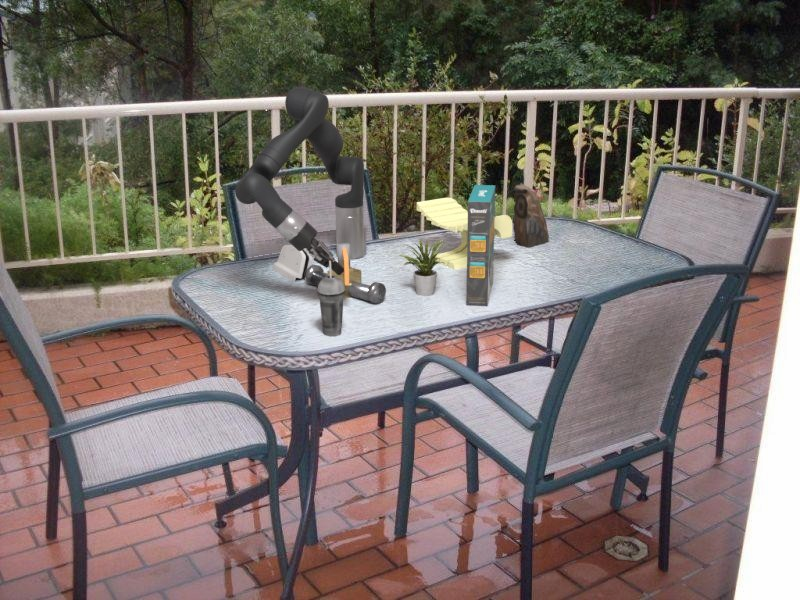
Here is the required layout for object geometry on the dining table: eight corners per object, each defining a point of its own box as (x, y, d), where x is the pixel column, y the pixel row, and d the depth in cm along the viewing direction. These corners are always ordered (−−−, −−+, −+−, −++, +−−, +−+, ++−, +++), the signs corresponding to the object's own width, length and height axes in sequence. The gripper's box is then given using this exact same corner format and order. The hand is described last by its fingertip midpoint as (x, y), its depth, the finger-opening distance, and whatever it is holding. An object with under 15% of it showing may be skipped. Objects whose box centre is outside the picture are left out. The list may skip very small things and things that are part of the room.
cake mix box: (473, 281, 282) (474, 184, 272) (492, 282, 281) (495, 185, 272) (466, 305, 262) (468, 201, 252) (487, 306, 261) (490, 202, 251)
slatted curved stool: (510, 267, 296) (512, 213, 290) (471, 276, 288) (472, 220, 282) (454, 246, 320) (455, 196, 314) (416, 254, 311) (416, 202, 305)
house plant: (422, 281, 283) (422, 229, 278) (459, 290, 275) (460, 236, 269) (392, 293, 273) (392, 239, 267) (430, 302, 264) (430, 247, 259)
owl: (528, 249, 316) (530, 191, 310) (499, 242, 325) (501, 186, 318) (550, 241, 325) (553, 185, 318) (522, 235, 333) (524, 180, 327)
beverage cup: (346, 327, 245) (344, 255, 239) (346, 338, 238) (344, 263, 232) (319, 328, 245) (316, 255, 239) (317, 338, 238) (315, 264, 232)
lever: (337, 266, 272) (337, 242, 269) (350, 265, 272) (349, 242, 270) (340, 285, 254) (339, 261, 252) (353, 285, 254) (353, 260, 252)
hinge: (271, 268, 297) (279, 238, 295) (284, 271, 299) (292, 241, 298) (293, 282, 283) (302, 251, 282) (307, 284, 286) (315, 253, 284)
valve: (321, 281, 284) (320, 257, 282) (387, 300, 266) (387, 275, 264) (304, 286, 279) (303, 262, 277) (370, 306, 261) (370, 281, 259)
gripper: (288, 233, 260) (332, 274, 265) (285, 246, 248) (331, 289, 252) (306, 214, 258) (351, 256, 263) (304, 227, 246) (351, 270, 251)
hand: (341, 272), depth 258 cm, fingers closed
